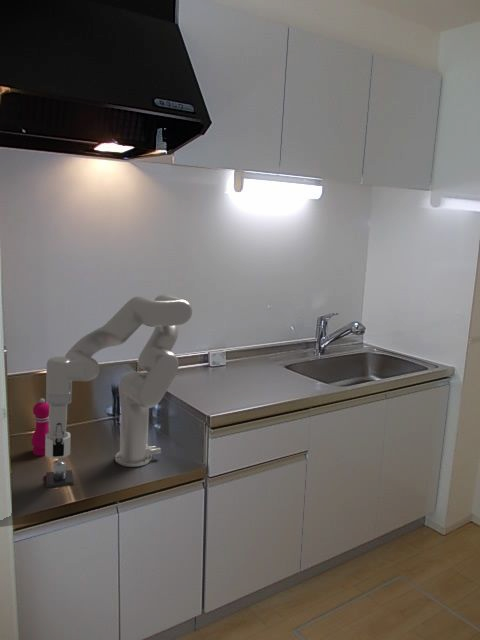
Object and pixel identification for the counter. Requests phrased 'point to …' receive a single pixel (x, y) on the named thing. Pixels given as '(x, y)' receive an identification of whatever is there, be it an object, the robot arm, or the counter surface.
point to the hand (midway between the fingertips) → (57, 450)
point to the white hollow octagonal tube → (50, 441)
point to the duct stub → (59, 475)
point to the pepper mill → (40, 427)
